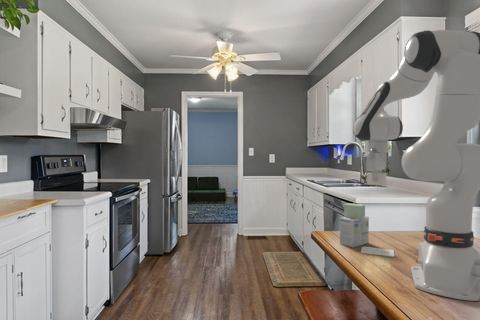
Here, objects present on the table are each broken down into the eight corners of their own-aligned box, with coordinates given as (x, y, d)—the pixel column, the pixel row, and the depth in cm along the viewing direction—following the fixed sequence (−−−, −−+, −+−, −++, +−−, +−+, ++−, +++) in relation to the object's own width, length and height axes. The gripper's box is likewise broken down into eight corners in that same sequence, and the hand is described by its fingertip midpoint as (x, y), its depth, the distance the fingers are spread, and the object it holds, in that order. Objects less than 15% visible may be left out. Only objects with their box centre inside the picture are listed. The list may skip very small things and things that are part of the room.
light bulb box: (354, 239, 132) (354, 214, 132) (369, 243, 127) (369, 216, 127) (339, 244, 126) (339, 217, 126) (353, 248, 121) (354, 220, 120)
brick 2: (384, 185, 132) (384, 173, 132) (366, 184, 136) (366, 173, 136) (386, 184, 135) (386, 173, 135) (369, 184, 139) (369, 172, 139)
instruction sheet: (394, 257, 110) (394, 256, 110) (360, 252, 115) (360, 252, 115) (394, 250, 117) (394, 249, 117) (362, 246, 122) (362, 246, 122)
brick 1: (361, 219, 123) (361, 206, 122) (344, 216, 127) (344, 204, 127) (365, 217, 126) (365, 204, 126) (347, 215, 130) (347, 203, 130)
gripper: (379, 148, 125) (379, 182, 125) (389, 149, 141) (389, 179, 142) (362, 148, 128) (362, 182, 129) (374, 149, 145) (374, 179, 145)
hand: (376, 180), depth 135 cm, fingers closed on brick 2, 4 cm apart
